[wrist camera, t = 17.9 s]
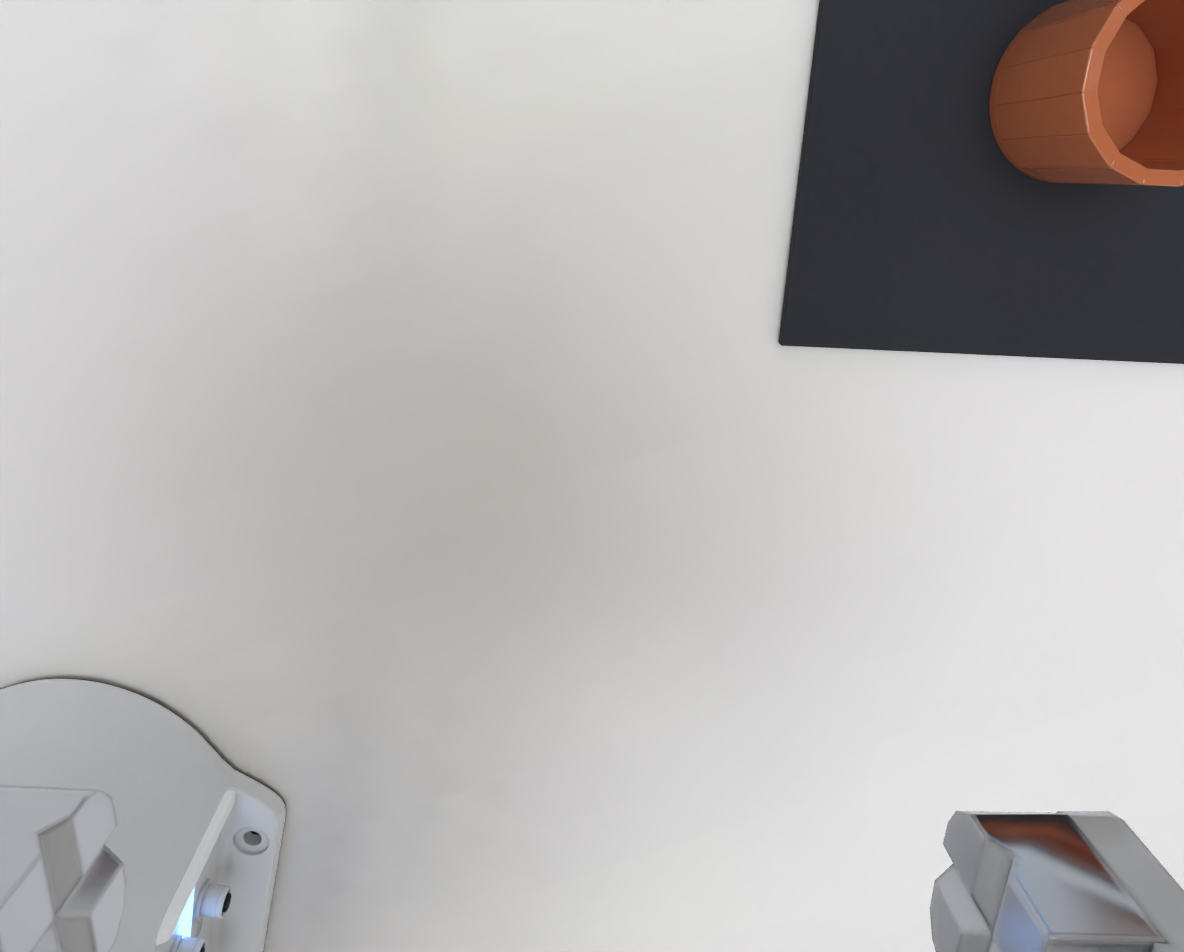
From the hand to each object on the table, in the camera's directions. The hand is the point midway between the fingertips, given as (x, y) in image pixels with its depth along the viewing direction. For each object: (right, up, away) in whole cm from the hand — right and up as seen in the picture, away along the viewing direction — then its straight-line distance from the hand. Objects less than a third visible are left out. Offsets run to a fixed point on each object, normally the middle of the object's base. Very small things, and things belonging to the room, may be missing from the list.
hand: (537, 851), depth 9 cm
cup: (+19, +18, +24) cm, 36 cm away
